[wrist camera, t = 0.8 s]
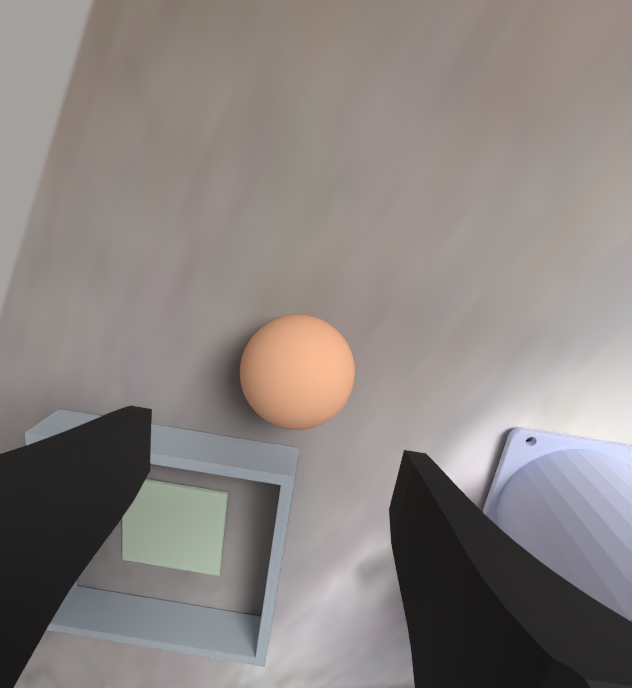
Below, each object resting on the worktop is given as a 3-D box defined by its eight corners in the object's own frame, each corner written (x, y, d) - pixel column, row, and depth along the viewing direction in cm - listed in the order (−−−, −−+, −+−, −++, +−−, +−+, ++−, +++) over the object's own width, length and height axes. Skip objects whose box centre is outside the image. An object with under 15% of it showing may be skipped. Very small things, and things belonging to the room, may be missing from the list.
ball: (361, 312, 19) (368, 344, 15) (343, 405, 21) (344, 462, 16) (258, 295, 19) (232, 322, 15) (248, 390, 21) (221, 441, 16)
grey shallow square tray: (299, 448, 22) (294, 476, 20) (271, 625, 26) (264, 666, 24) (58, 408, 22) (24, 432, 20) (68, 591, 26) (41, 629, 24)
